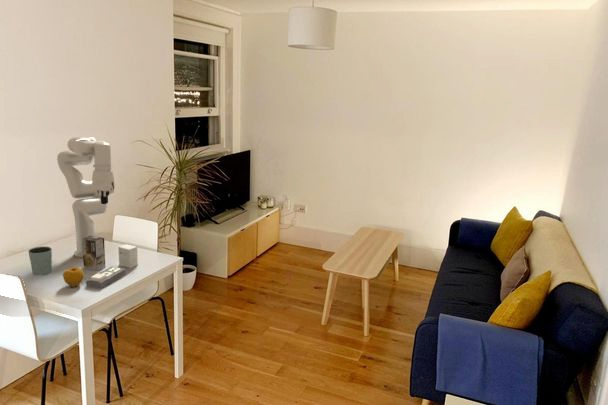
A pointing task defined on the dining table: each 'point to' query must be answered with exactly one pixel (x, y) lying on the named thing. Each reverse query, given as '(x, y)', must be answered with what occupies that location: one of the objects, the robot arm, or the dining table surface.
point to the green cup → (41, 260)
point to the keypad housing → (107, 279)
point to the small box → (128, 256)
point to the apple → (73, 276)
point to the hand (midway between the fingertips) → (104, 203)
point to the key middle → (107, 274)
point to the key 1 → (98, 277)
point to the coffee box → (93, 252)
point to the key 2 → (114, 269)
